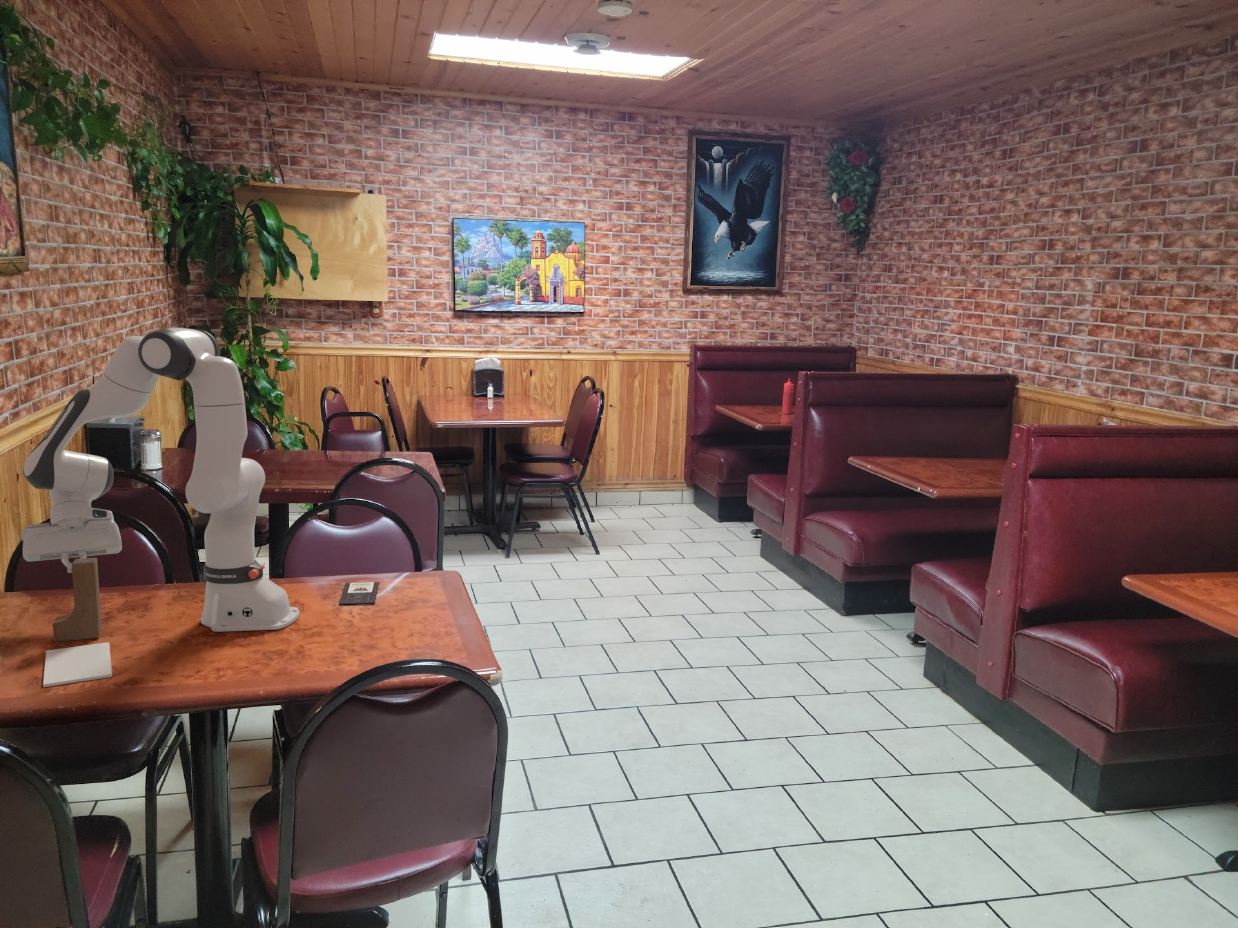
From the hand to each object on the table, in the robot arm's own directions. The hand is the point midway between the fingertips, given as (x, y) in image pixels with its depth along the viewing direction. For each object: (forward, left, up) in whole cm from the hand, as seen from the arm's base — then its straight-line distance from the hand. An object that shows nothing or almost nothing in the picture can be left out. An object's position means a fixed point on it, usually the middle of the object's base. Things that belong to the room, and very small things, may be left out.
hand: (74, 571), depth 214 cm
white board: (-13, +23, -13) cm, 30 cm away
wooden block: (-4, +7, -14) cm, 16 cm away
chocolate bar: (-58, -30, -14) cm, 67 cm away
